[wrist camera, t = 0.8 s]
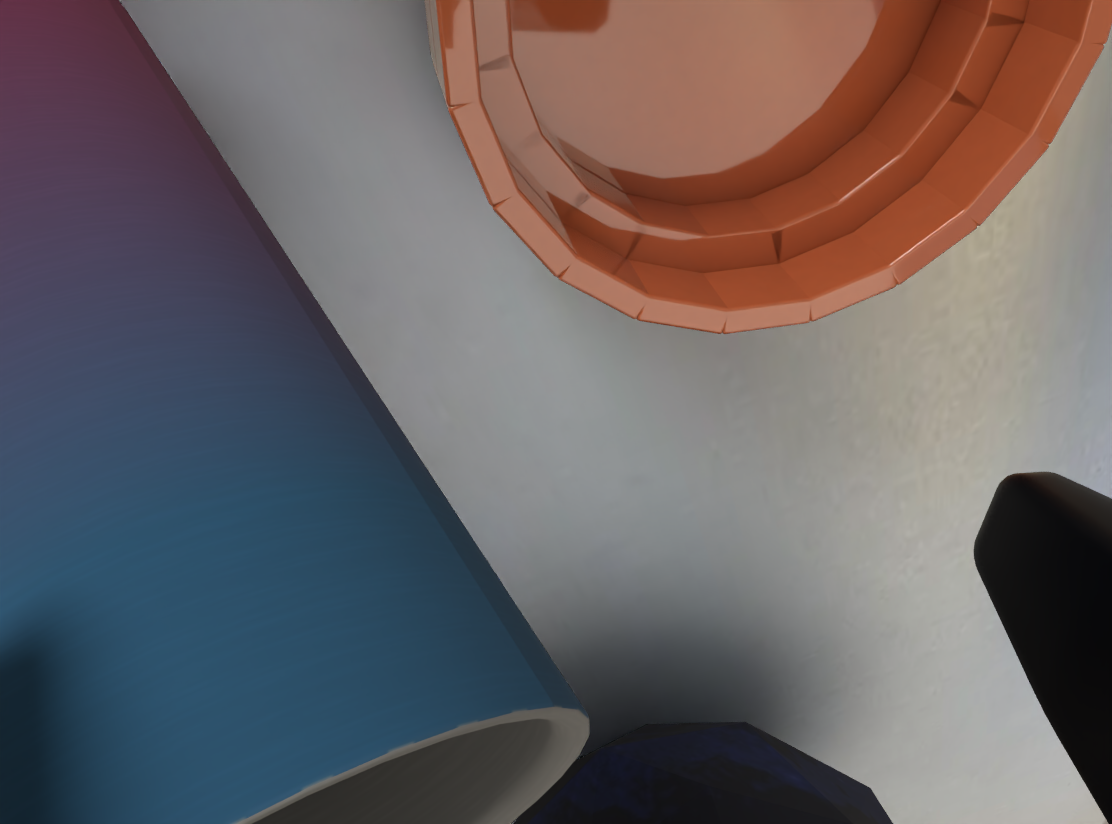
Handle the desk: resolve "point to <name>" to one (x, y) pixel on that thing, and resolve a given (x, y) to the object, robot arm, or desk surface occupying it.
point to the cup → (218, 501)
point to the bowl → (754, 138)
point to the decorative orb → (703, 782)
